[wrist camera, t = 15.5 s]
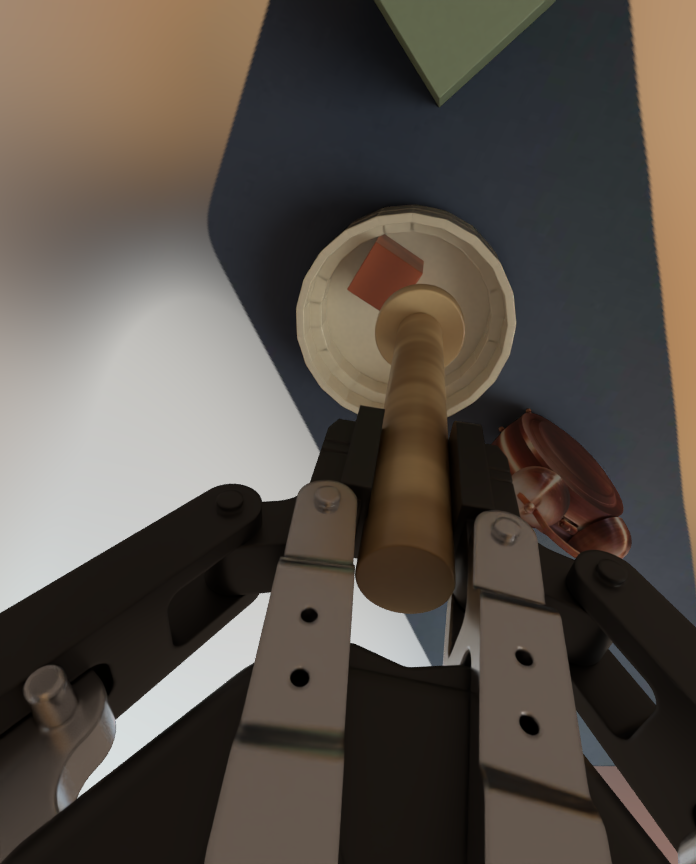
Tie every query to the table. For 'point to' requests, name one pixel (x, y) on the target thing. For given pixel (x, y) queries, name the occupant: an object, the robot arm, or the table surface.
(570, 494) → the alarm clock
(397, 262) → the block
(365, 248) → the bowl
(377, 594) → the stick
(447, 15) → the stand
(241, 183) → the table surface
